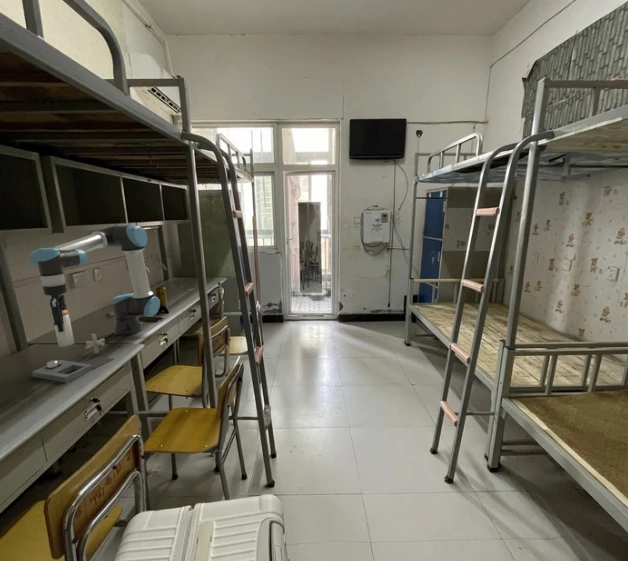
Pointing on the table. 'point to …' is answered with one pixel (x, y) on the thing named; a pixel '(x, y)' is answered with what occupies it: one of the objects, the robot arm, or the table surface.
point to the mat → (98, 361)
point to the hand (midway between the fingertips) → (64, 335)
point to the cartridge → (69, 339)
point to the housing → (63, 371)
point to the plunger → (52, 364)
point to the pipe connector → (95, 343)
